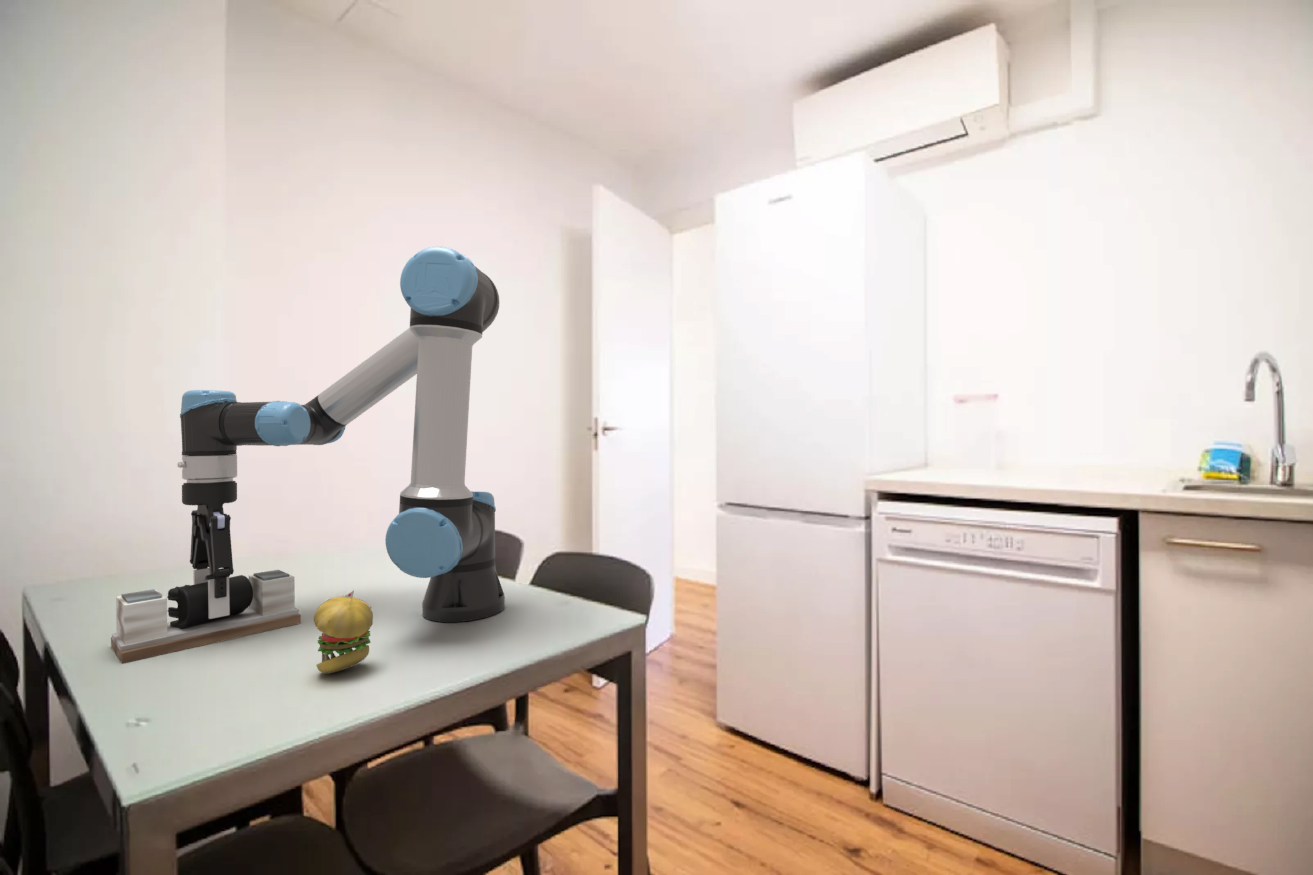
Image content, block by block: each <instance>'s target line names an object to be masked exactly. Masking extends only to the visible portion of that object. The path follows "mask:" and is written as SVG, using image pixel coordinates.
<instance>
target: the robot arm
mask: <svg viewBox="0 0 1313 875" xmlns="http://www.w3.org/2000/svg"><path fill="white" fill-rule="evenodd" d="M399 285H400V291H401V294H402V297H403V300H405V302H406V304H407V305H408V306H409V307H410V310H409V311H410V312H409V313H410V315H409V327H408V328H406V330H404V331H403V332H401V333H400V334H399V335H398V336H396V337H395V338H393V339H392V340H391V341H389V342H388V343H387V344H385V345H384V346H382V347H381V348H380V349H378V350H377V351H376V352H374V353H373V354H372V355H370V356H369V357H367V359H365V360H363V362H361V363H360V364H358V365H357V366H356V367H354V368H353V369H351V370H350V371H349V372H347V373H346V374H344V376H342V377H341V378H339V379H338V380H337V381H335V382H333V383H332V384H331V385H330V386H328V387H327V388H325V390H323V391H322V392H320V393H319V394H318V395H316V396H315V397H313V398H312V399H310V400H309V401H308V402H306V403H305V404H300V403H298V402H295V401H283V400H282V401H281V400H272V401H251V402H250V401H249V402H248V401H247V402H246V401H245V402H244V401H243V402H240V401H238V400H237V397H236V396H237V395H236V394H235V393H234V392H232V391H227V390H214V389H209V390H208V389H205V390H204V389H192V390H187V391H185V392H184V393H183V394H182V396H181V408H180V414H179V418H180V430H181V431H180V433H181V460H182V461H178V462H177V464H176V465H177V468H180V469H181V478H182V479H183V480H186V482H183V483H182V485H181V503H182V504H183V505H184V506H197V509H195V510H194V509H193V510H191V514H190V515H191V535H190V536H191V537H190V539H191V540H190V541H191V542H190V554H189V556H190V557H189V558H190V559H189V563H190V565H192V566H191V567H192V569H193V570H192V572H193V578H192V579H193V585H195V584H200V583H205V582H208V618H209V619H212V618H217V617H223V616H228V615H230V608H229V578H230V577H231V575H234V573H235V572H234V571H235V569H234V565H233V563H234V562H233V551H232V540H231V539H232V538H231V537H232V536H231V519H232V517H231V516H230V514H227V513H225V512H224V505H225V504H231V503H234V502H235V503H236V501H237V499H238V482H236V480H234V479H235V478H237V477H238V455H237V450H238V448H237V447H238V446H239V447H240V446H255V447H256V446H260V447H261V446H274V447H287V446H294V445H295V446H300V445H301V446H302V445H304V446H305V445H306V446H307V445H308V446H310V445H311V446H324V445H327V444H332V443H335V442H337V441H338V440H340V439H341V438H342V437H343V435H344V432H345V430H346V426H348V425H349V424H350V423H351V422H353V421H355V420H356V419H357V418H359V417H360V416H361V415H362V414H364V413H365V412H367V411H368V410H369V409H370V408H372V407H374V406H375V405H377V403H379V402H381V401H382V400H383V399H384V398H386V397H387V396H388V395H390V394H391V393H392V392H394V391H395V390H397V389H398V388H399V387H401V386H402V385H403V384H405V383H407V382H408V381H409V380H411V379H412V378H414V377H415V376H416V382H415V383H416V384H415V385H416V386H415V387H416V388H415V402H414V403H415V404H414V420H413V435H412V436H413V437H412V438H413V439H412V454H411V455H412V456H411V467H410V468H411V471H410V483H409V484H408V485H407V486H406V487H405V488H404V489H403V490H402V491H401V492H400V495H399V508H398V514H397V515H396V516H395V517H394V519H392V521H391V522H390V523H389V525H388V527H387V530H386V534H385V548H386V553H387V554H388V557H389V559H390V560H391V562H392V563H393V564H394V565H395V566H396V567H397V568H398V569H399V571H401V572H403V573H404V574H407V575H409V576H411V577H414V578H419V579H428V578H429V582H428V584H427V588H426V590H425V594H424V597H423V600H422V604H421V605H422V607H421V608H422V611H421V612H422V613H421V614H422V617H423V618H425V619H426V620H429V621H432V622H433V621H434V622H443V623H457V622H458V623H460V622H468V621H475V620H481V619H484V618H489V617H491V616H494V615H497V614H499V613H500V612H502V611H503V610H504V609H505V608H506V604H505V603H506V598H505V593H504V590H503V587H502V584H501V581H500V578H499V576H498V575H499V574H498V573H497V569H496V511H497V510H496V506H495V497H494V495H493V494H492V493H491V492H488V491H471V490H470V489H469V488H468V487H467V486H466V483H465V482H466V481H465V480H466V465H467V446H468V431H469V430H468V428H469V414H470V412H469V411H470V410H469V409H470V392H471V377H472V358H473V346H474V344H475V345H476V343H478V342H479V341H480V340H481V339H482V338H483V333H484V332H485V331H486V330H487V329H488V328H490V326H491V325H492V324H493V323H494V321H495V320H496V317H497V316H498V314H499V310H500V296H499V291H498V289H497V287H496V285H495V283H494V282H493V280H492V279H491V278H490V277H489V276H488V275H487V274H485V273H484V272H483V271H482V270H480V269H479V268H478V267H477V266H476V265H475V263H473V261H472V260H471V259H470V258H469V257H467V256H466V255H465V254H463V253H460V252H459V251H457V250H455V249H453V248H450V247H447V246H431V247H427V248H424V249H421V250H420V251H417V253H415V254H414V255H413V256H412V257H410V258H409V260H407V262H406V263H405V265H404V267H403V269H402V270H401V273H400V280H399Z"/></svg>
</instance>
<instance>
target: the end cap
mask: <svg viewBox="0 0 1313 875" xmlns="http://www.w3.org/2000/svg"><path fill="white" fill-rule="evenodd" d="M166 598H167V601H172V602H176V604H177V607H173V606H169V607H167V616H168V617H170V618H173V619H176V620H171V621H169V623H170V626H173V627H178V628H185V627H189V626H192V625H196V624H200V623H204V622H208V621H212V620H216V619H220V618H224V617H227V616H223V617H217V618H212V619H209V618H208V582H205V583H200V584H195V585H194V584H191V585H190V584H184V585H182V586H175V587H173V588H170V589H169V590H168V591H167V596H166ZM252 599H253V588H252V585H251V582H250V581H249V577H247V576H246V575H242V574H241V575H240V574H239V575H234V576H229V608H230V615H228V616H231V615H235V614H239V613H243V612H244V610H245V609H247V608H248V607H249V606H250V604H251V602H252Z"/></svg>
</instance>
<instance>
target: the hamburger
mask: <svg viewBox="0 0 1313 875" xmlns="http://www.w3.org/2000/svg"><path fill="white" fill-rule="evenodd" d="M354 593H355V589H353V590H352V591H350V592H349V593H348V594H346V595H341V596H336V597H332V598H329V599H327V600H326V601H324V602H323V603H322V604H320V606H319V607H318V608H317V610H315V613H314V615H313V620H314V621H313V622H314V626H315V627H316V629H317V630H318V631H319V632H321V635H320V636H318V640H317V644H318V645H319V647H318V649H317V652H320V653H321V662H319V663H317V664H316V669H317V670H318V671H319V672H320V673H322V674H333V673H337V672H341V671H343V670H347V669H349V668H351V667H354V666H356V665H358V664H360V663H361V662H362V661H364V660H365V659H366V658H367V657H368V656H369V653H370V645H369V644H371V640H370V636H371V627H372V625H373V622H374V614H373V611H372V606H369V605H368V603H367V602H366V601H364V600H362V599H360V598H357V597H355V596H354ZM334 652H335V653H337V654H339V655H337V656H336V655H335V653H334ZM329 655H330V656H329Z"/></svg>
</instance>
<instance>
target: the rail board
mask: <svg viewBox="0 0 1313 875" xmlns="http://www.w3.org/2000/svg"><path fill="white" fill-rule="evenodd" d="M248 579H249V581H250V582H251V585H252V588H253V599H252V602H251V604H250V606H249V607H248V608H247V609H245V610H244V612H243V613H239V614H235V615H231V616H227V617H224V618H220V619H216V620H212V621H208V622H204V623H200V624H196V625H192V626H189V627H185V628H178V627H173V626H170V622H168V598H167V596H166V595H164V594H163V593H161V592H160V591H159V590H157V589H154V588H153V589H147V590H141V591H133V592H129V593H128V592H127V593H121V595H118V596H115V600H116V602H115V603H116V605H115V606H116V607H115V608H116V609H115V610H116V611H115V612H116V632H115V633H111V637H110V647H111V649H112V650H113V652H114V654H115V655H116V656H117V658H118V660H119V661H120V663H121V664H127V663H130V662H135V661H139V660H144V659H147V658H153V657H157V656H160V655H161V656H162V655H167V654H170V653H174V652H178V651H184V650H187V649H193V648H197V647H201V646H205V645H206V646H207V645H211V644H213V643H214V644H215V643H218V641H219V642H223V641H228V640H232V639H236V638H242V637H246V636H250V635H255V634H259V633H264V632H267V631H272V630H276V629H277V630H278V629H280V628H285V627H289V626H294V625H298V623H299V624H301V623H302V615H301V613H300V611H299V609H298V608H297V607H296V606H295V605H296V601H295V597H296V596H295V576H294V575H292V574H290V573H287V572H285V571H283V570H280V569H275V570H274V569H273V570H269V571H268V570H267V571H261V572H255V573H253V574H249V575H248Z"/></svg>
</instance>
